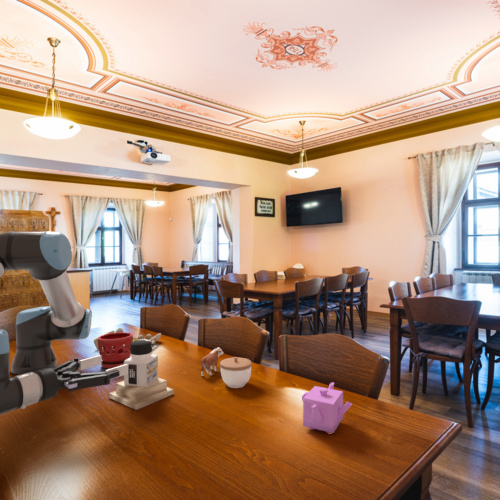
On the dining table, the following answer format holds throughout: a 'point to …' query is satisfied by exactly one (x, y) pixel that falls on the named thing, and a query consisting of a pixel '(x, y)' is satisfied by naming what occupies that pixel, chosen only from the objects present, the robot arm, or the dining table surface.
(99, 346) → the plant pot
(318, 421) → the teapot
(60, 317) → the robot arm
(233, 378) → the lidded jar
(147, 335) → the toy food set
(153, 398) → the plinth
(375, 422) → the dining table surface
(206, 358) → the bull figurine
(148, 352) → the container
